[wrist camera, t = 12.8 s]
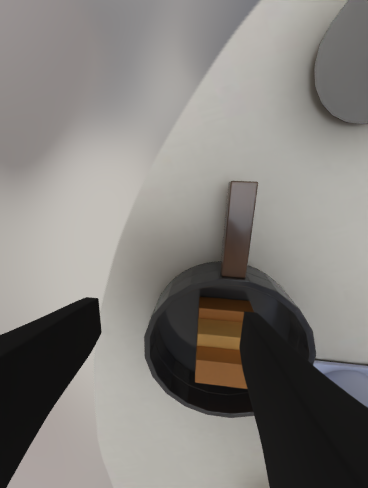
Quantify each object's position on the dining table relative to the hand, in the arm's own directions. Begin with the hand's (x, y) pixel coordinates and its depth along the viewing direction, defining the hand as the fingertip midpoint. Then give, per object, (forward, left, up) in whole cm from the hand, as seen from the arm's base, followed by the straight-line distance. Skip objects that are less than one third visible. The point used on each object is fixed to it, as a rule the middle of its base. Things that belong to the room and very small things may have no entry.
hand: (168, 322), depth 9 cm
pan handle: (+4, -4, -7) cm, 9 cm away
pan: (-7, -4, -9) cm, 12 cm away
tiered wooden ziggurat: (-7, -4, -9) cm, 12 cm away
